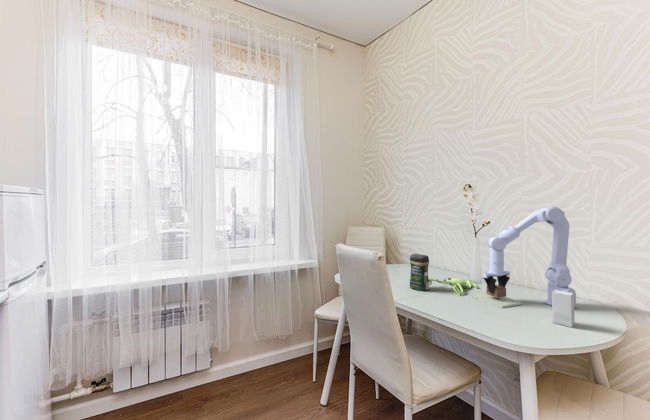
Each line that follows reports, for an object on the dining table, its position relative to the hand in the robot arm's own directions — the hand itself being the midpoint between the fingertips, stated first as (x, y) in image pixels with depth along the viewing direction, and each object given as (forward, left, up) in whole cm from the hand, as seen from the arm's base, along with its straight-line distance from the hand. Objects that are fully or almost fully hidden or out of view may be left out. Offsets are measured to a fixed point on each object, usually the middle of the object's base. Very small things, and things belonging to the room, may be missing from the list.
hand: (496, 291), depth 136 cm
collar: (0, 0, -2) cm, 2 cm away
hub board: (0, 0, -4) cm, 4 cm away
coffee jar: (+28, +22, -4) cm, 36 cm away
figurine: (+22, +5, -5) cm, 24 cm away
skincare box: (-28, -1, -4) cm, 28 cm away
